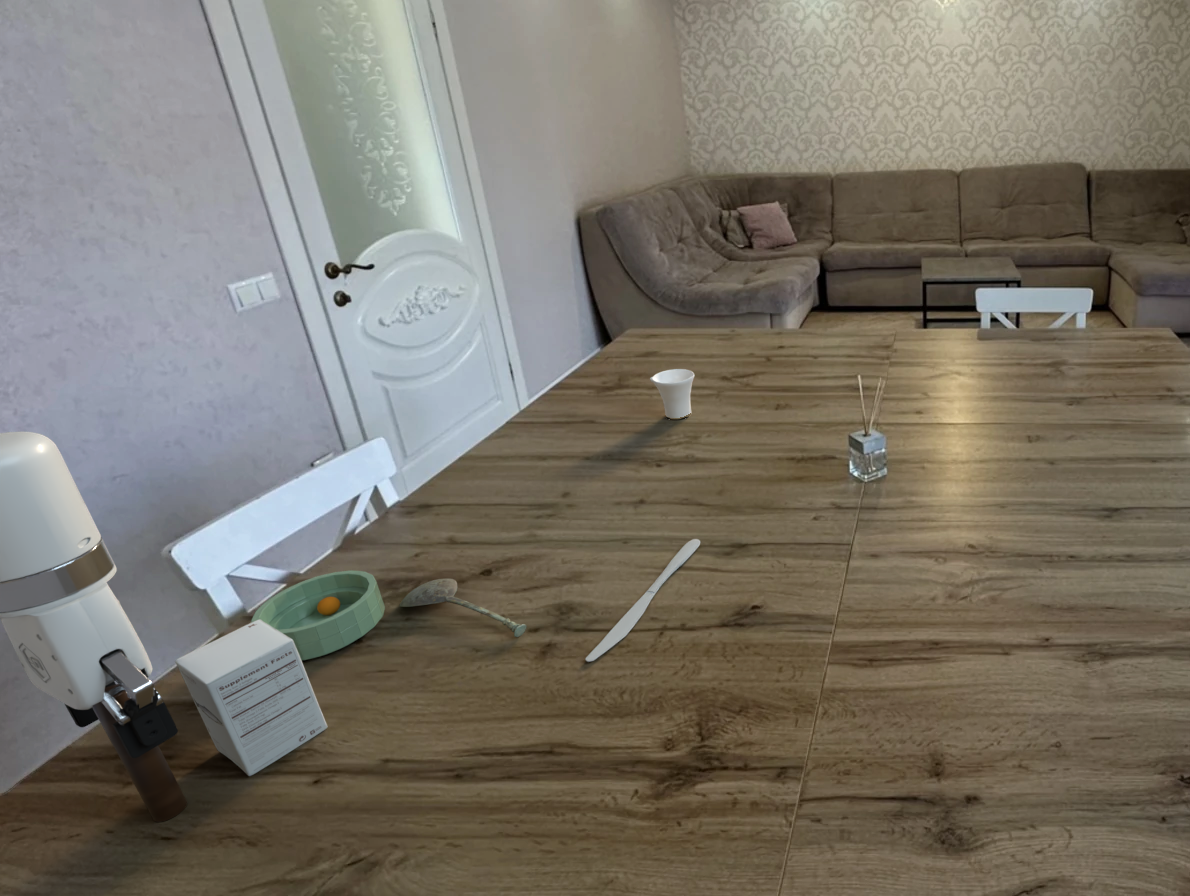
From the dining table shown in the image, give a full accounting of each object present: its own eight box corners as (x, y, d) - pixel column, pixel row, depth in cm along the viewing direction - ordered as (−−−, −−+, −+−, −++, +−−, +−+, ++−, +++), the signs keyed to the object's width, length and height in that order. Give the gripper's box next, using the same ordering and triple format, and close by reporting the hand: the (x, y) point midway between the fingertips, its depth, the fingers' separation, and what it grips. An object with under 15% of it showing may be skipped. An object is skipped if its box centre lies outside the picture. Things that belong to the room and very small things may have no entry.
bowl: (251, 679, 86) (237, 646, 85) (279, 618, 97) (267, 587, 95) (377, 644, 92) (366, 612, 90) (391, 589, 102) (382, 560, 101)
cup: (656, 411, 162) (650, 370, 159) (699, 406, 165) (694, 365, 161) (655, 427, 154) (648, 384, 151) (699, 421, 157) (694, 379, 153)
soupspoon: (439, 584, 105) (393, 613, 99) (432, 565, 103) (385, 593, 98) (543, 620, 96) (499, 654, 90) (537, 600, 95) (491, 633, 89)
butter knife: (707, 540, 113) (690, 536, 113) (600, 663, 88) (578, 659, 89) (708, 543, 113) (690, 539, 113) (600, 667, 88) (579, 662, 89)
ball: (318, 621, 95) (312, 606, 94) (322, 610, 97) (317, 596, 96) (340, 615, 96) (335, 600, 96) (344, 605, 98) (338, 590, 98)
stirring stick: (149, 826, 69) (83, 707, 63) (159, 806, 71) (96, 689, 65) (182, 815, 70) (120, 697, 64) (191, 796, 72) (132, 679, 66)
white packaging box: (215, 752, 77) (171, 659, 72) (297, 704, 83) (261, 615, 78) (247, 780, 73) (203, 684, 69) (330, 728, 80) (294, 637, 75)
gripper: (-70, 577, 60) (24, 733, 66) (31, 629, 54) (124, 794, 60) (57, 531, 67) (131, 676, 73) (160, 572, 61) (231, 727, 67)
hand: (128, 729), depth 67 cm, fingers open, 8 cm apart
